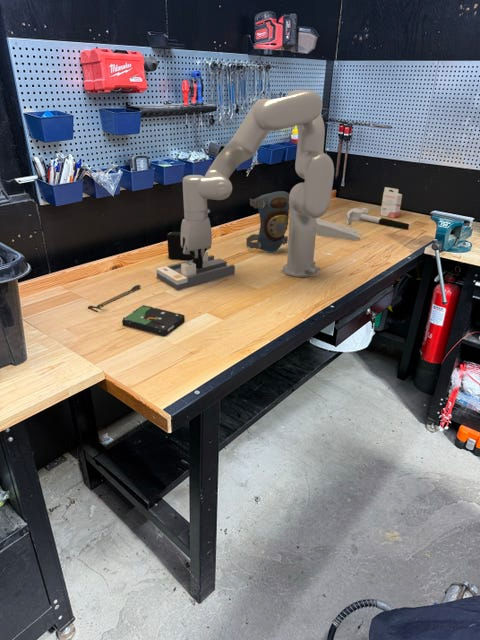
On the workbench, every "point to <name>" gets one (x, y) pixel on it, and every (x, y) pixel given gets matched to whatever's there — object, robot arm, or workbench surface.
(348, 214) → the claw hammer
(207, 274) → the grey slotted tray
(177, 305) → the workbench surface
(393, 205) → the ink cartridge box
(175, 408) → the workbench surface
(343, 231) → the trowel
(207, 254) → the tab far
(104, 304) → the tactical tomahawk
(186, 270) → the tab near
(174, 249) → the electronic device
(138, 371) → the workbench surface
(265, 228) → the knee pad
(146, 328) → the disk drive
